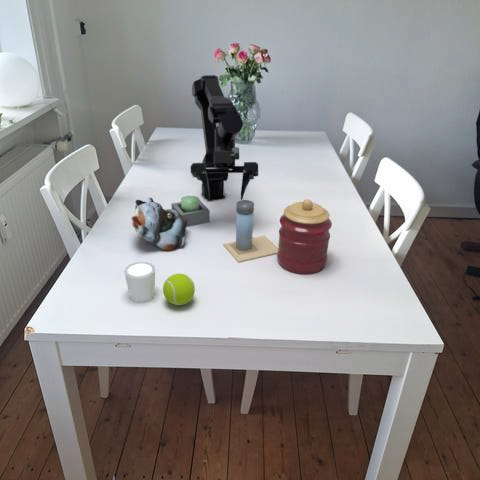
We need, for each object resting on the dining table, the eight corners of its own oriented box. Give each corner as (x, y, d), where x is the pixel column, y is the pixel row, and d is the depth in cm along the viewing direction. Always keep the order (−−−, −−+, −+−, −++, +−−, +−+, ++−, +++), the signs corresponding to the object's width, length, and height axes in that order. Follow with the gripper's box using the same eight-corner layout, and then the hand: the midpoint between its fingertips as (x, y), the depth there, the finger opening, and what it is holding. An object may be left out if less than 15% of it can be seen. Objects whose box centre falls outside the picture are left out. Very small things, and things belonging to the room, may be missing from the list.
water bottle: (246, 241, 129) (247, 198, 123) (255, 248, 126) (257, 204, 120) (232, 245, 127) (233, 202, 121) (241, 252, 124) (242, 208, 118)
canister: (314, 280, 114) (321, 216, 105) (267, 265, 120) (271, 202, 111) (334, 258, 124) (342, 197, 115) (290, 244, 130) (295, 185, 121)
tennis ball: (173, 315, 101) (172, 288, 97) (158, 299, 106) (156, 273, 102) (200, 304, 104) (200, 278, 101) (185, 289, 109) (184, 264, 106)
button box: (199, 210, 148) (198, 199, 146) (209, 222, 140) (209, 210, 138) (172, 215, 144) (171, 203, 142) (181, 227, 137) (181, 215, 135)
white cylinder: (128, 286, 110) (126, 261, 106) (158, 286, 110) (156, 261, 107) (125, 304, 104) (122, 278, 100) (156, 303, 104) (154, 277, 101)
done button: (195, 206, 144) (195, 194, 142) (202, 213, 140) (201, 201, 138) (179, 209, 142) (178, 197, 140) (185, 216, 138) (184, 204, 136)
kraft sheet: (264, 236, 133) (264, 234, 133) (281, 252, 125) (281, 251, 125) (222, 245, 128) (222, 243, 128) (238, 262, 120) (238, 261, 120)
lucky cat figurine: (182, 254, 123) (154, 217, 115) (145, 263, 128) (116, 228, 119) (193, 216, 134) (168, 180, 125) (158, 226, 138) (132, 191, 130)
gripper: (187, 136, 123) (187, 194, 122) (257, 135, 123) (258, 193, 121) (193, 149, 135) (193, 202, 133) (258, 148, 134) (258, 201, 132)
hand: (225, 199), depth 129 cm, fingers open, 9 cm apart
